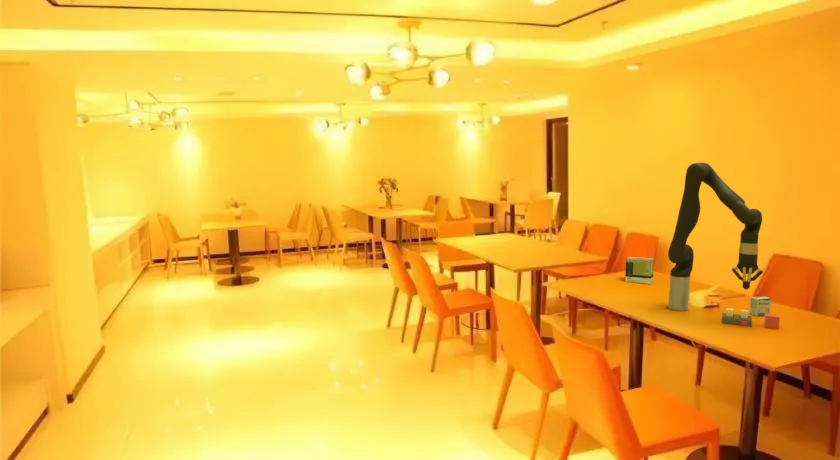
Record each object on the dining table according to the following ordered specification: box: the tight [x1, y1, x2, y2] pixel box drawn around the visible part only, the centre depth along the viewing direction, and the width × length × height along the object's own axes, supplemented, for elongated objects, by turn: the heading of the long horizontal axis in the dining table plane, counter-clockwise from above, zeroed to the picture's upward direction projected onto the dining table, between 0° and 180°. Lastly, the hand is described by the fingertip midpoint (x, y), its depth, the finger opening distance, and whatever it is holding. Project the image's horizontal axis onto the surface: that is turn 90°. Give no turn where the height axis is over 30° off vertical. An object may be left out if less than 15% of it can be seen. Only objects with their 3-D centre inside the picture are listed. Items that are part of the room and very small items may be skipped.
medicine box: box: [749, 296, 772, 317], centre depth 276 cm, size 8×4×9 cm, turn 105°
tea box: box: [624, 256, 655, 285], centre depth 350 cm, size 15×10×15 cm
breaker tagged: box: [739, 309, 749, 319], centre depth 263 cm, size 3×3×4 cm
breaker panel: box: [721, 312, 753, 327], centre depth 264 cm, size 12×8×3 cm
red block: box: [763, 312, 780, 330], centre depth 257 cm, size 5×5×6 cm
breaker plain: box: [725, 307, 734, 317], centre depth 265 cm, size 3×3×4 cm
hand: (746, 289), depth 261 cm, fingers closed
